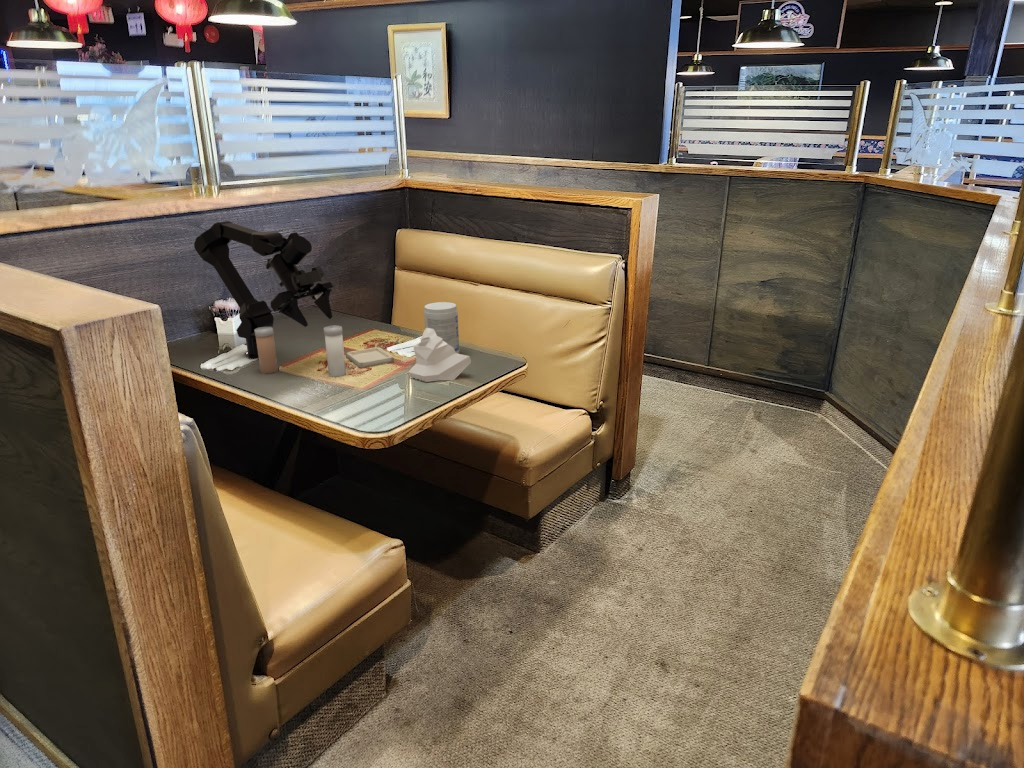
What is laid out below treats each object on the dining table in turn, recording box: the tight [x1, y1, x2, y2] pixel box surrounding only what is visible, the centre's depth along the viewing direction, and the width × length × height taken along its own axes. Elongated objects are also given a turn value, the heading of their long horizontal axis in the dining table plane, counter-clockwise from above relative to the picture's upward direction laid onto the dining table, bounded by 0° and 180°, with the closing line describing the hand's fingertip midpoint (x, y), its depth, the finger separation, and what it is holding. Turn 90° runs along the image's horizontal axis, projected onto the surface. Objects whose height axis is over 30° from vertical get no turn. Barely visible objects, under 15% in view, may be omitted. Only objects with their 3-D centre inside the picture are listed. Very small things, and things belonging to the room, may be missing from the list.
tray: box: [345, 346, 395, 369], centre depth 207 cm, size 12×10×2 cm
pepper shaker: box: [255, 327, 279, 375], centre depth 197 cm, size 5×5×12 cm
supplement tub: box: [423, 301, 460, 354], centre depth 209 cm, size 10×10×15 cm
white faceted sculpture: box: [408, 328, 472, 383], centre depth 191 cm, size 12×15×14 cm
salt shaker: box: [323, 324, 347, 378], centre depth 194 cm, size 5×5×13 cm
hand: (319, 321), depth 196 cm, fingers open, 9 cm apart
